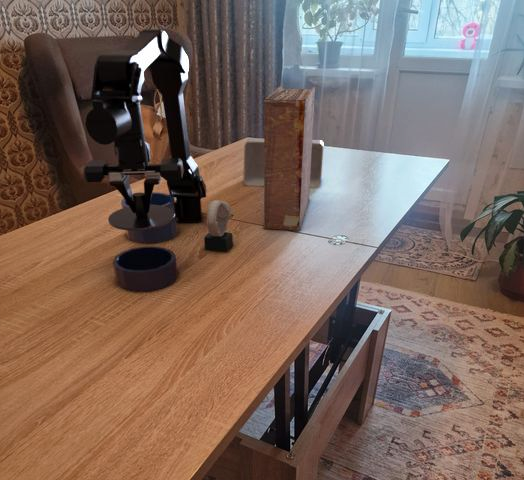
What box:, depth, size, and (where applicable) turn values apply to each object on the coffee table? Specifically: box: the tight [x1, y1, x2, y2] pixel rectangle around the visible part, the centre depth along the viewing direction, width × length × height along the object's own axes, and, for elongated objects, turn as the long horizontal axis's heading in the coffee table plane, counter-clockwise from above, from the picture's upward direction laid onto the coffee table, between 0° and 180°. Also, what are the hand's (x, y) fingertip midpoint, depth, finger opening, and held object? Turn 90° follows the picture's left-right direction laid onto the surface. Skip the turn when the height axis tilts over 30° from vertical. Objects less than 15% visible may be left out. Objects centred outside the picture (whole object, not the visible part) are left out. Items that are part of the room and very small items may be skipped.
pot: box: [120, 191, 179, 244], centre depth 120 cm, size 13×13×8 cm
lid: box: [107, 192, 175, 231], centre depth 99 cm, size 14×14×6 cm
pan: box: [112, 245, 178, 293], centre depth 101 cm, size 13×13×4 cm
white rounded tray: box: [242, 137, 325, 189], centre depth 157 cm, size 25×16×12 cm, turn 83°
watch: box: [203, 199, 234, 253], centre depth 112 cm, size 6×8×11 cm
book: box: [263, 85, 316, 232], centre depth 125 cm, size 25×9×30 cm, turn 170°
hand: (141, 212), depth 100 cm, fingers closed on lid, 2 cm apart
